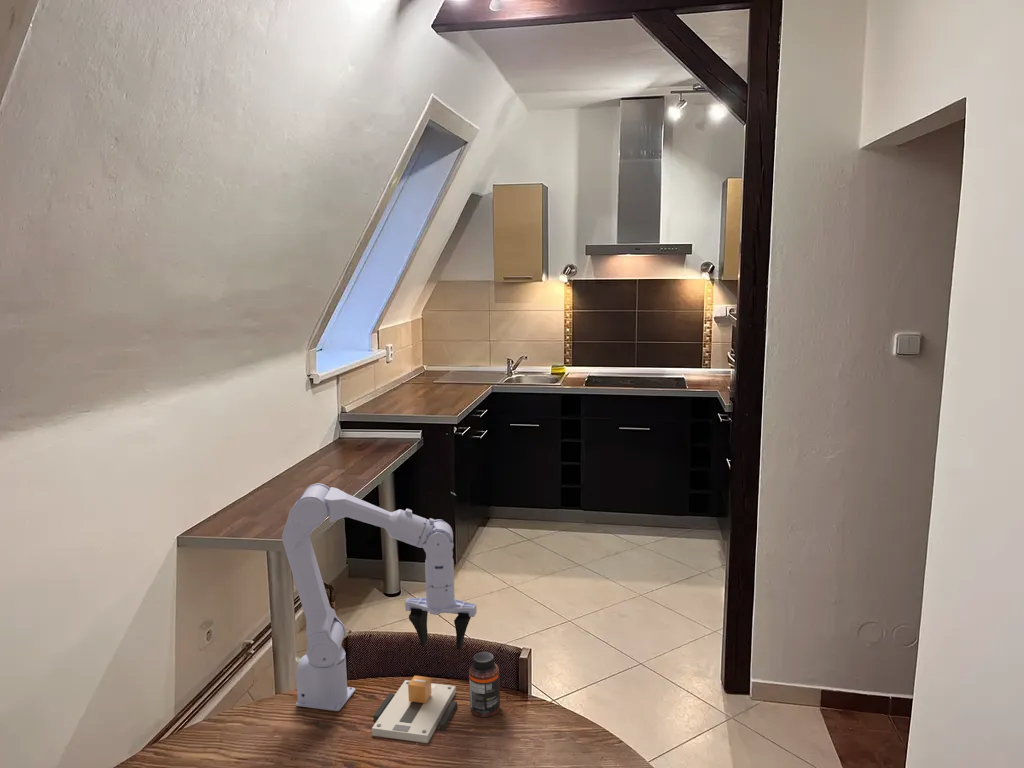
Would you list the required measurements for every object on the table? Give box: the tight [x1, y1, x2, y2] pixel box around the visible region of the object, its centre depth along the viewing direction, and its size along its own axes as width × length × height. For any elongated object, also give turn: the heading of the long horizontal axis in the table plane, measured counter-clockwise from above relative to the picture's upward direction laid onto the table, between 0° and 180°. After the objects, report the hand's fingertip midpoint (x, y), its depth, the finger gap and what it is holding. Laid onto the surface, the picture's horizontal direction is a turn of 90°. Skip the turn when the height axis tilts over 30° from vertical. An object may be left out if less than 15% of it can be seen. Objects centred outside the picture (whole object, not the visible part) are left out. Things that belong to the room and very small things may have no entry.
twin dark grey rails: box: [372, 692, 458, 731], centre depth 149 cm, size 14×8×1 cm, turn 77°
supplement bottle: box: [468, 651, 501, 718], centre depth 149 cm, size 6×6×11 cm
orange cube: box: [408, 675, 432, 703], centre depth 151 cm, size 4×4×4 cm
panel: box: [371, 679, 457, 744], centre depth 149 cm, size 11×17×2 cm, turn 166°
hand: (441, 645), depth 154 cm, fingers open, 7 cm apart
